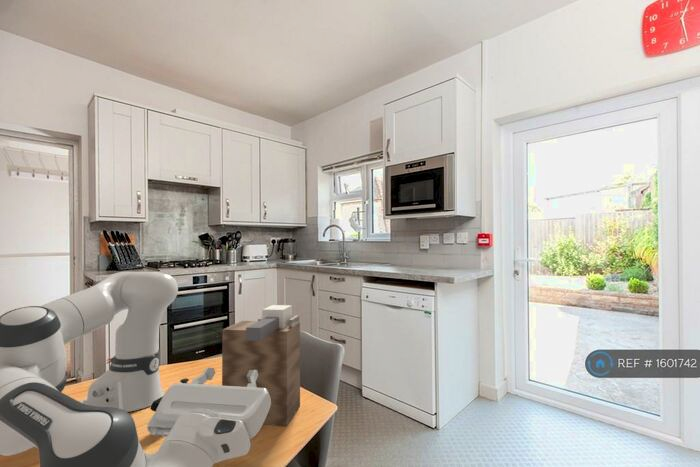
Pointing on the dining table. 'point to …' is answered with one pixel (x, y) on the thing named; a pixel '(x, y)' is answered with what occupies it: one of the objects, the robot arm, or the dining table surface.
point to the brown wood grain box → (266, 366)
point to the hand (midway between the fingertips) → (232, 370)
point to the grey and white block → (269, 322)
